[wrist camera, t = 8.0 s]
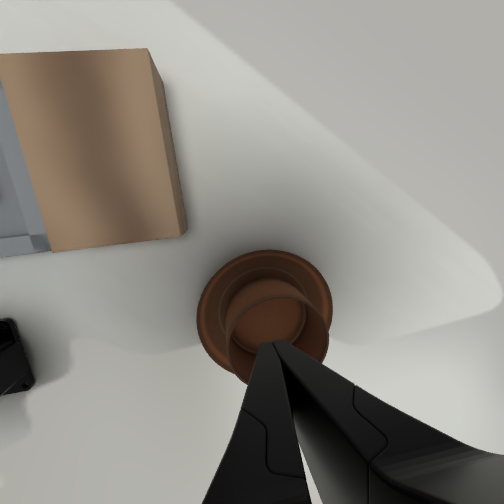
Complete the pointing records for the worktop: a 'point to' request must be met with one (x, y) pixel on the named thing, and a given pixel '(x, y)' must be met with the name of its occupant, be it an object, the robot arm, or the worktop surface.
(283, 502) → the robot arm
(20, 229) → the box
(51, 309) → the worktop surface
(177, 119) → the worktop surface
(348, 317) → the worktop surface
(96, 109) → the tan wooden board
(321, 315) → the cup and saucer
